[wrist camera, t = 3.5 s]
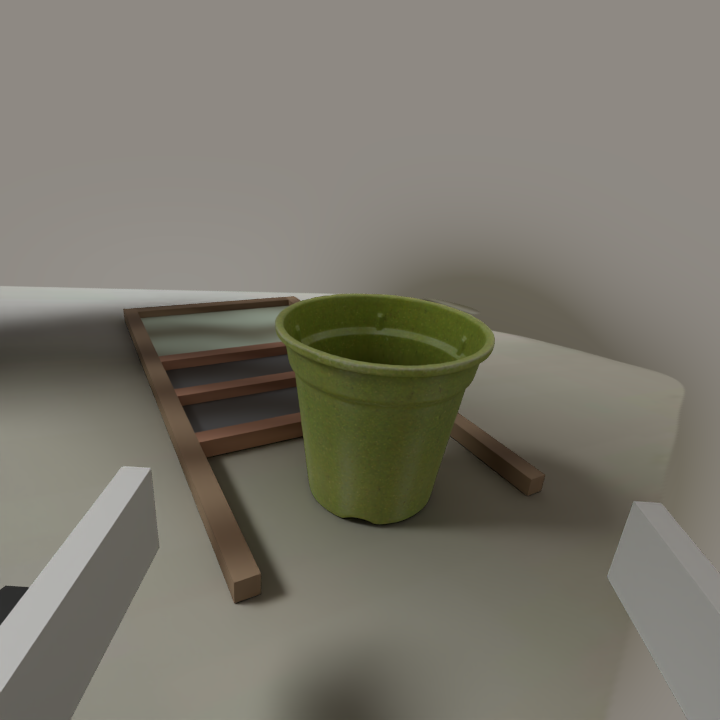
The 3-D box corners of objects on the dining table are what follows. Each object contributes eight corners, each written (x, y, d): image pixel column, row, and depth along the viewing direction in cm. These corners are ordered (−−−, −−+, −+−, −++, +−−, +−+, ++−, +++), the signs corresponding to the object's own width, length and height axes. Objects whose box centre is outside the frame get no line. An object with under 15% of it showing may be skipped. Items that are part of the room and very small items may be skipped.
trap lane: (124, 320, 44) (123, 309, 44) (293, 305, 52) (294, 296, 52) (234, 603, 18) (233, 582, 18) (540, 490, 26) (545, 474, 26)
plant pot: (345, 591, 19) (363, 387, 16) (241, 465, 26) (238, 304, 23) (502, 507, 24) (541, 341, 21) (382, 421, 31) (397, 285, 28)
